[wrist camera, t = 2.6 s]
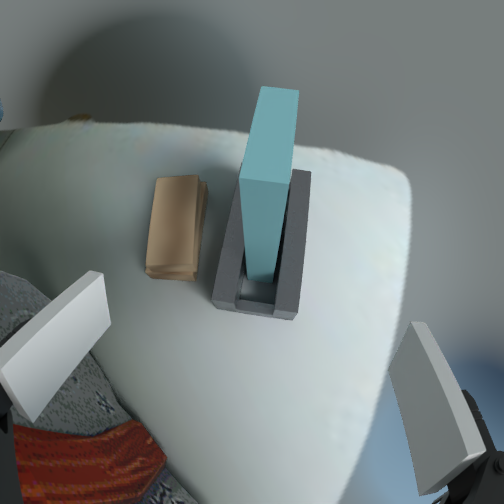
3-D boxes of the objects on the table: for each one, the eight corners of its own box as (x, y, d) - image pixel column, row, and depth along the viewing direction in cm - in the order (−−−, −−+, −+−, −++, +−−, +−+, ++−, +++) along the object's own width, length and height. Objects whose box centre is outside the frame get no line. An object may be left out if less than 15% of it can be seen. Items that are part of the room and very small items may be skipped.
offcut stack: (151, 279, 31) (137, 264, 26) (168, 192, 35) (159, 170, 31) (200, 282, 30) (192, 268, 26) (212, 192, 35) (207, 170, 30)
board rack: (217, 308, 29) (211, 299, 25) (243, 183, 35) (241, 162, 31) (292, 320, 28) (297, 312, 25) (306, 192, 34) (311, 171, 30)
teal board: (247, 279, 30) (238, 177, 14) (259, 211, 33) (261, 86, 17) (272, 283, 30) (289, 184, 14) (281, 214, 33) (299, 90, 17)
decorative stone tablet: (184, 642, 2) (-38, 220, 14) (106, 641, 1) (-72, 269, 12) (233, 520, 19) (80, 303, 31) (186, 542, 18) (47, 331, 29)
